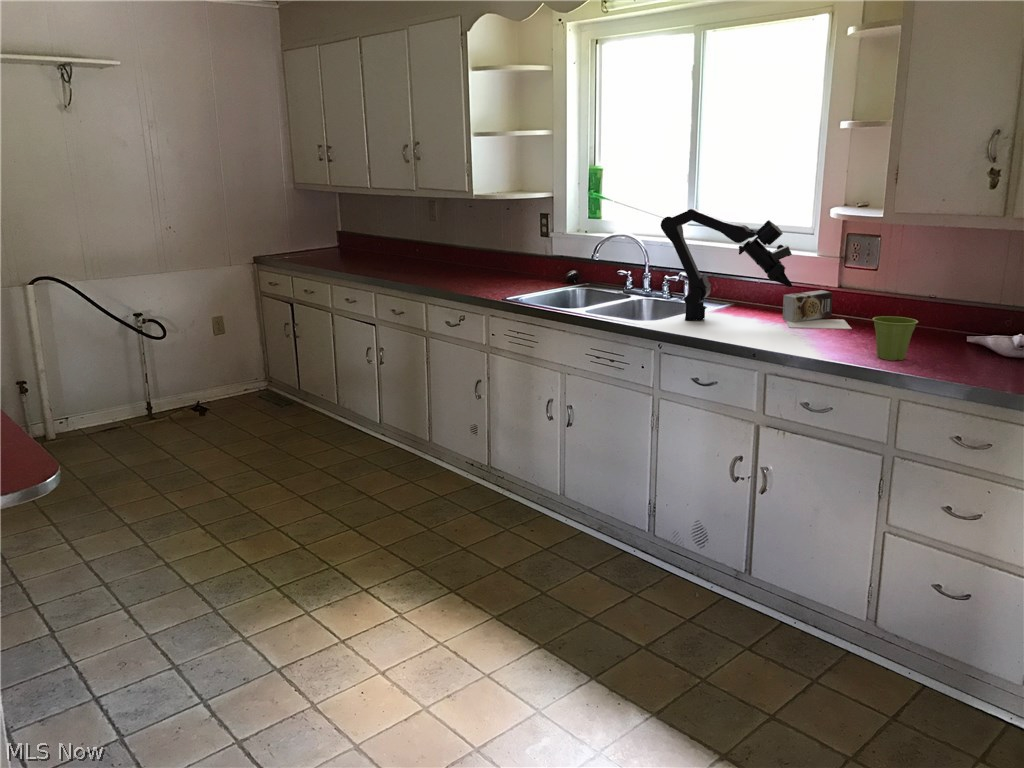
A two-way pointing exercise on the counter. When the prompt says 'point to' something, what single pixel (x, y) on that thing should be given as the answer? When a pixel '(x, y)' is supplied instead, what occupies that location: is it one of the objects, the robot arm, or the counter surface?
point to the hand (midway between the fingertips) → (791, 286)
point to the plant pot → (893, 336)
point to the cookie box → (807, 306)
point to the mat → (820, 324)
